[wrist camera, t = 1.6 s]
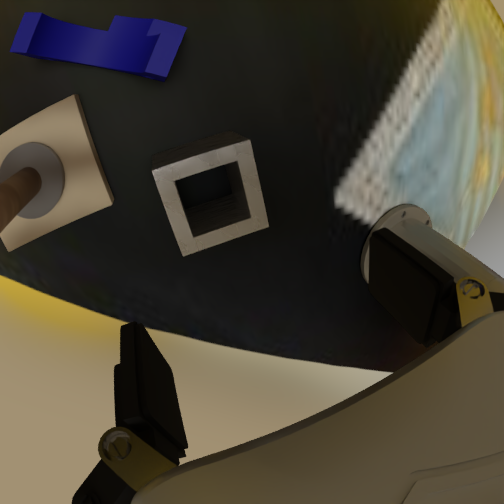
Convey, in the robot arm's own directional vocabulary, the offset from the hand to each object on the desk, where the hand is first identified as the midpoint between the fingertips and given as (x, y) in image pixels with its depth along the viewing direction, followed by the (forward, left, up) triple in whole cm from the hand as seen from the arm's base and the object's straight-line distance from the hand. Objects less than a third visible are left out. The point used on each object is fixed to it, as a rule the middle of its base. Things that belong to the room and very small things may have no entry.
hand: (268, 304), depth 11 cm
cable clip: (+14, +4, -19) cm, 24 cm away
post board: (+6, +14, -18) cm, 23 cm away
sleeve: (0, 0, -18) cm, 18 cm away
